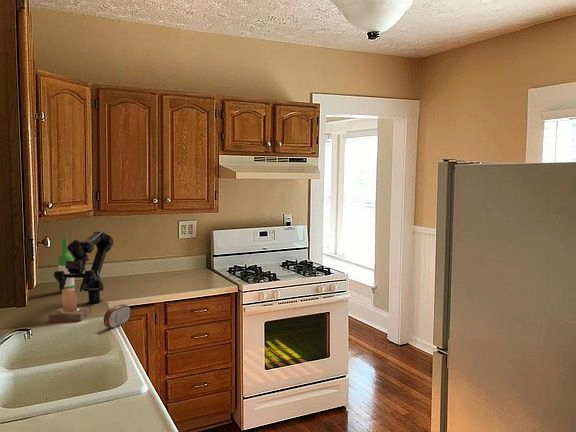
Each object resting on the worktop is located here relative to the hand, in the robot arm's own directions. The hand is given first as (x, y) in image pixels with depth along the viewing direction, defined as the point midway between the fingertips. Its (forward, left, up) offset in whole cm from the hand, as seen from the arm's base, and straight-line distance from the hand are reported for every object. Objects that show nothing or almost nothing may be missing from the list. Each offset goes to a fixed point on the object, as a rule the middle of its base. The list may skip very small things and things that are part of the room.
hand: (70, 291), depth 233 cm
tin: (+16, +26, -12) cm, 33 cm away
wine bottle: (-53, -22, -12) cm, 58 cm away
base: (+1, 0, -12) cm, 12 cm away
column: (+1, 0, -9) cm, 9 cm away
